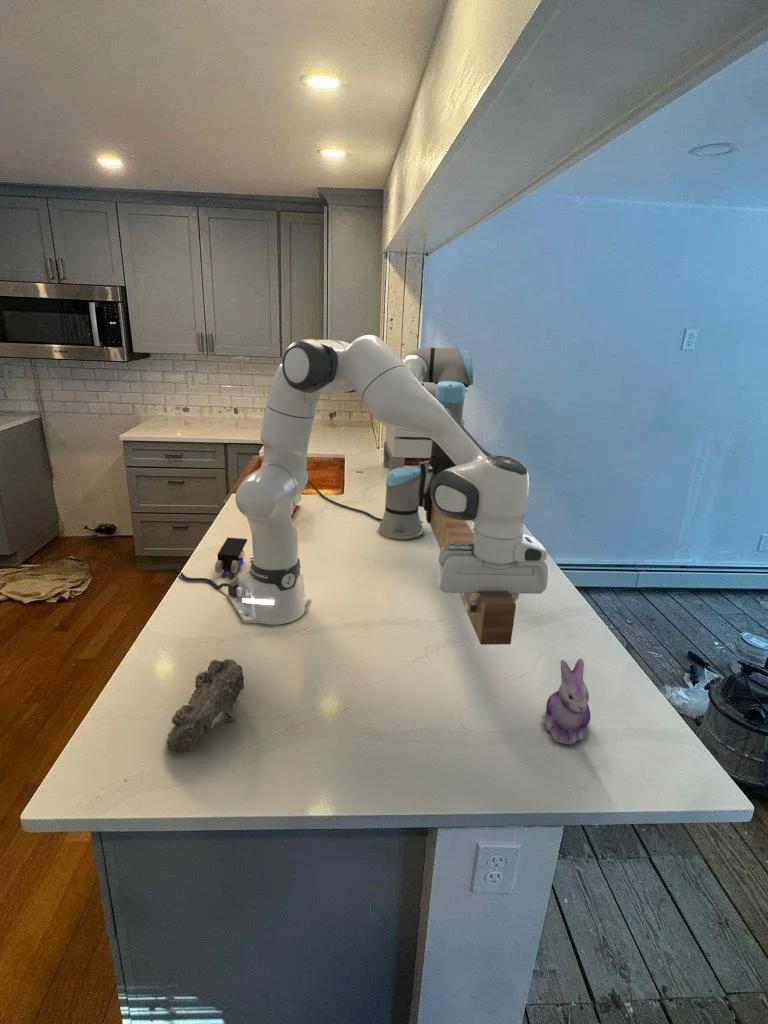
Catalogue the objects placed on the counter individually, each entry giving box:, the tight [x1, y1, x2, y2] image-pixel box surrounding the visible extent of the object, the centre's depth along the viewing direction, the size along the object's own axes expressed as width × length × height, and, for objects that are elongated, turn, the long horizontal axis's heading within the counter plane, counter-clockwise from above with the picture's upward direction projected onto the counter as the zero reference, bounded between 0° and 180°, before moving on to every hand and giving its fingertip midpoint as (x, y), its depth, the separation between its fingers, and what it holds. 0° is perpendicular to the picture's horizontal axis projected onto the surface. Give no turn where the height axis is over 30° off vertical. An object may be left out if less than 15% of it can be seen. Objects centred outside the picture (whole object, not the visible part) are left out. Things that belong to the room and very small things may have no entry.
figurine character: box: [214, 537, 248, 578], centre depth 166 cm, size 7×8×15 cm
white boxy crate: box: [383, 418, 465, 472], centre depth 268 cm, size 34×33×41 cm
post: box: [425, 497, 517, 646], centre depth 133 cm, size 68×6×8 cm, turn 4°
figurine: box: [544, 658, 592, 746], centre depth 106 cm, size 9×10×15 cm
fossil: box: [166, 658, 245, 754], centre depth 106 cm, size 22×10×15 cm
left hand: (487, 611), depth 108 cm, fingers closed on post, 5 cm apart
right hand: (439, 521), depth 160 cm, fingers closed on post, 6 cm apart
